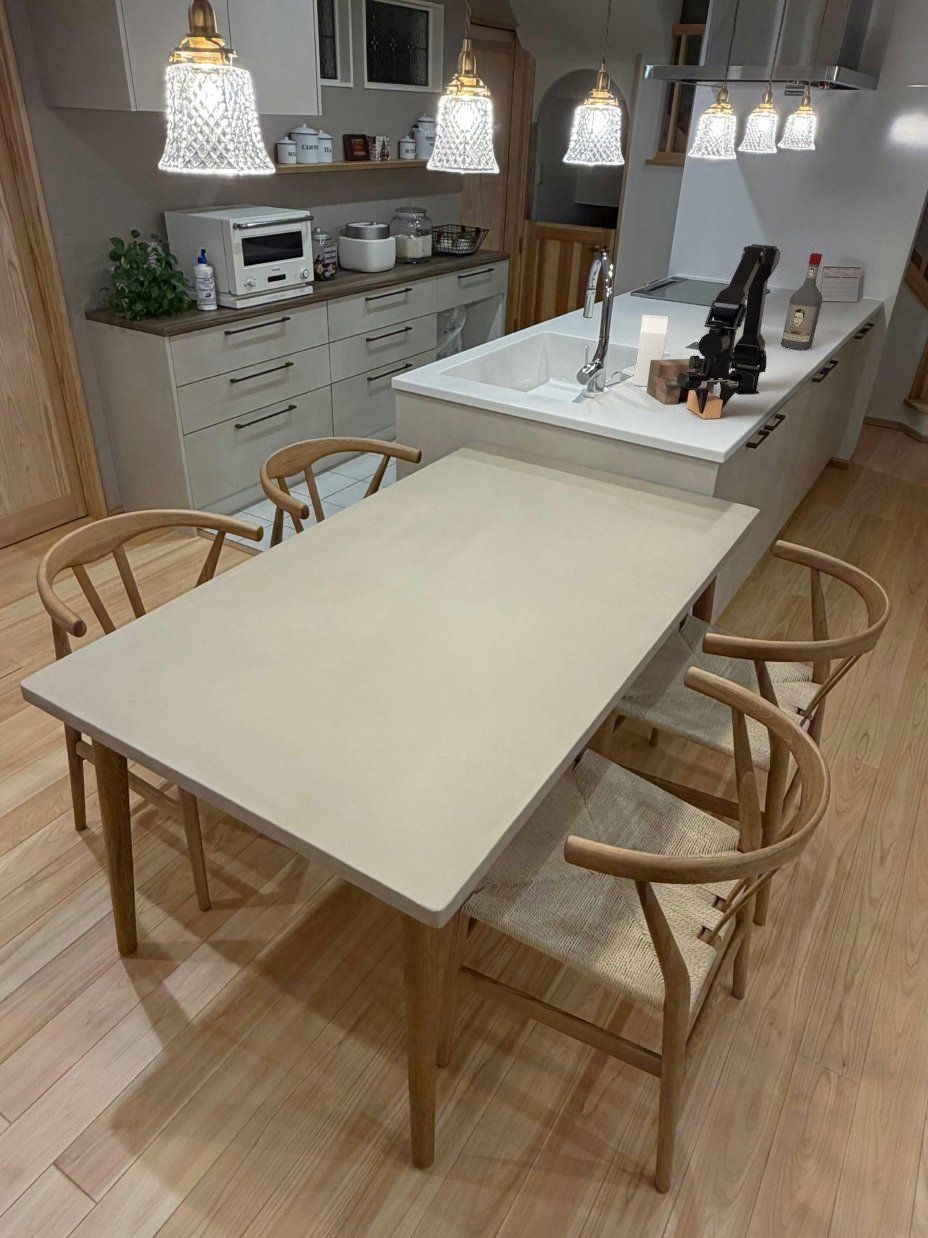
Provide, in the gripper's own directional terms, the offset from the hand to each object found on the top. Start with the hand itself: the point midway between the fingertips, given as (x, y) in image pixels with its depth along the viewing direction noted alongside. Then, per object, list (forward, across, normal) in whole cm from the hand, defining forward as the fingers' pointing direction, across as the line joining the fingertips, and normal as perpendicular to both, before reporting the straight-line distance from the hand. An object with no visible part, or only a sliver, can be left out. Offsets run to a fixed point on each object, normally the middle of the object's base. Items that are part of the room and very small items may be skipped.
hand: (709, 412), depth 217 cm
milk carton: (+2, +3, -34) cm, 34 cm away
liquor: (+2, -70, -74) cm, 102 cm away
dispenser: (+1, 0, -18) cm, 19 cm away
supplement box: (+2, -50, -76) cm, 91 cm away
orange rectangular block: (+1, 0, -4) cm, 4 cm away
